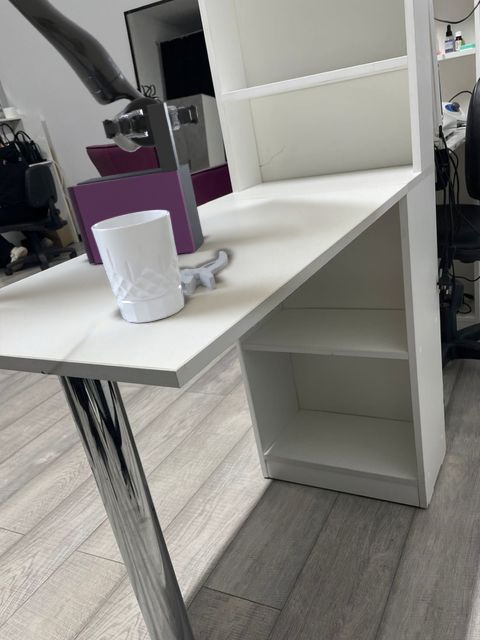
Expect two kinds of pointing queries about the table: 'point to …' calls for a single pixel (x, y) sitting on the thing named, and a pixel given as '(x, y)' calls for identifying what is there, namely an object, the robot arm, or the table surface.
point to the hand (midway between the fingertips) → (156, 120)
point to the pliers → (203, 274)
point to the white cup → (141, 264)
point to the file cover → (137, 193)
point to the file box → (187, 193)
